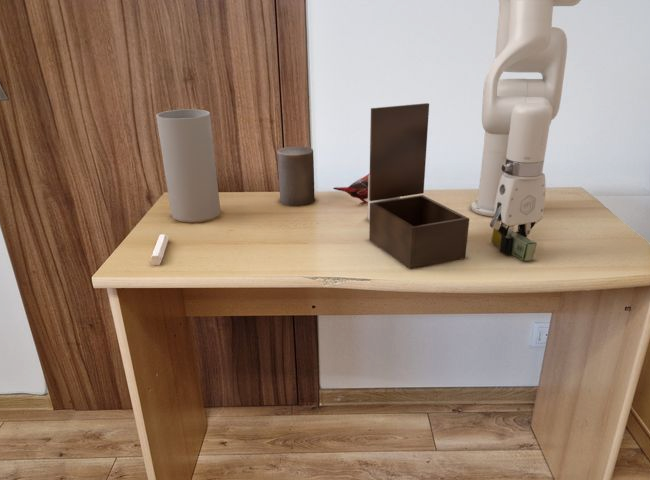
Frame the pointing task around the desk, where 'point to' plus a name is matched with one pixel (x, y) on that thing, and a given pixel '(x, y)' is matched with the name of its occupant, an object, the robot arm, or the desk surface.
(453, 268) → the desk surface
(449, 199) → the desk surface
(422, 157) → the lid
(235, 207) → the desk surface
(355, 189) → the decorative bird figurine
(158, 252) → the white rectangular bar
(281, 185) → the pillar candle
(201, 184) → the cylinder vase
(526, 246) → the medication box
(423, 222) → the chest
